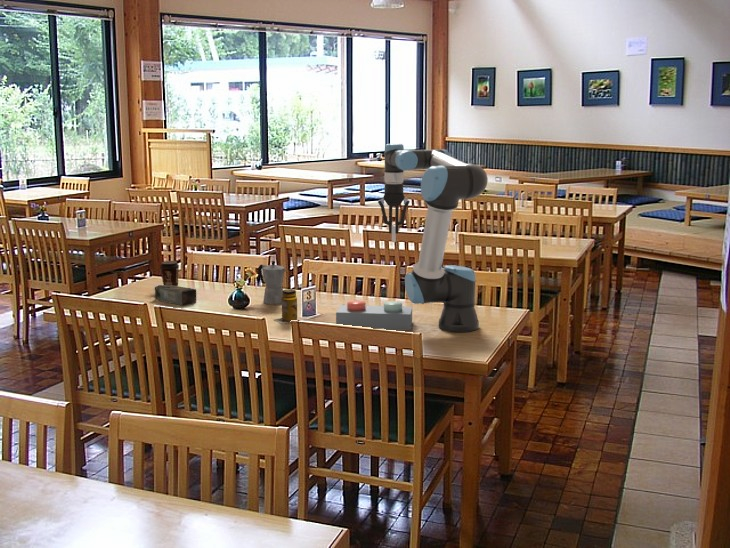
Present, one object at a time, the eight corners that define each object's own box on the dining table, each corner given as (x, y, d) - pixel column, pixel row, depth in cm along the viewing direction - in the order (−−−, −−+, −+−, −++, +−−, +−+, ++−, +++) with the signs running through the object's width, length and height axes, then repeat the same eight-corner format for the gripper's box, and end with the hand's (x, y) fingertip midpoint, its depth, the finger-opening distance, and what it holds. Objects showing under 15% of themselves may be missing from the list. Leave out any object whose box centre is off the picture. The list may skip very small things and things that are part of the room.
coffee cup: (161, 288, 377) (160, 260, 374) (180, 287, 378) (179, 260, 376) (160, 292, 368) (159, 264, 366) (179, 291, 370) (178, 263, 367)
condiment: (301, 320, 319) (301, 290, 317) (282, 324, 315) (281, 293, 312) (292, 317, 325) (292, 287, 323) (273, 320, 321) (272, 290, 318)
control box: (412, 321, 317) (412, 306, 316) (410, 329, 306) (410, 314, 305) (340, 319, 320) (340, 304, 319) (336, 327, 309) (336, 312, 308)
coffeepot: (293, 302, 350) (292, 260, 346) (278, 306, 342) (277, 264, 339) (266, 297, 359) (265, 257, 355) (251, 301, 351) (250, 260, 348)
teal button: (402, 321, 315) (402, 301, 314) (401, 326, 308) (401, 306, 307) (384, 321, 316) (384, 301, 314) (383, 326, 309) (383, 305, 308)
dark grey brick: (169, 296, 361) (168, 282, 360) (197, 303, 349) (197, 288, 348) (154, 300, 355) (153, 285, 354) (183, 306, 343) (182, 291, 342)
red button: (366, 320, 317) (366, 300, 315) (364, 325, 310) (364, 305, 308) (348, 320, 318) (348, 300, 316) (346, 325, 311) (346, 304, 309)
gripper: (410, 182, 329) (410, 240, 334) (378, 182, 330) (378, 239, 335) (410, 183, 322) (409, 243, 326) (376, 183, 323) (376, 242, 328)
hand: (393, 241), depth 331 cm, fingers closed
